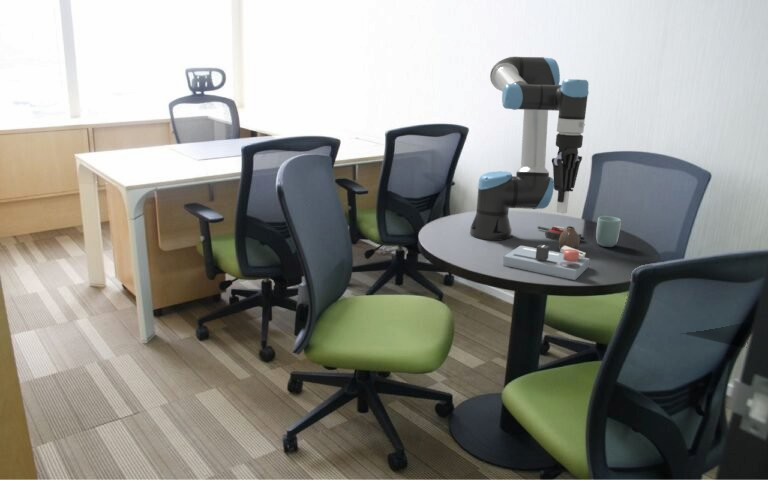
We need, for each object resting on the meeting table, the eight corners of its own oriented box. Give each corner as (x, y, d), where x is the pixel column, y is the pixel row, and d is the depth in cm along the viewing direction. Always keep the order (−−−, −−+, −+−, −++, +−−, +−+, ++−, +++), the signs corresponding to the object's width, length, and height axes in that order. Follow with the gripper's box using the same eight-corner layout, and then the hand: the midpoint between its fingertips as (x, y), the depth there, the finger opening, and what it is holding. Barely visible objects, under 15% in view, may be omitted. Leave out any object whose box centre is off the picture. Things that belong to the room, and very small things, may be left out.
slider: (535, 259, 199) (536, 246, 198) (538, 256, 201) (540, 244, 200) (544, 260, 197) (546, 248, 196) (547, 258, 200) (549, 245, 199)
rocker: (559, 251, 202) (561, 248, 201) (563, 248, 205) (564, 245, 205) (581, 259, 199) (582, 255, 198) (584, 256, 202) (586, 252, 201)
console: (502, 265, 203) (504, 252, 202) (519, 253, 215) (520, 241, 214) (574, 280, 191) (576, 266, 190) (588, 267, 204) (589, 254, 202)
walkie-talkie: (587, 241, 234) (538, 230, 247) (588, 229, 233) (539, 219, 246) (576, 245, 228) (527, 234, 241) (577, 233, 227) (528, 223, 240)
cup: (618, 249, 224) (622, 222, 221) (595, 247, 225) (599, 220, 222) (615, 243, 231) (619, 216, 228) (593, 241, 232) (596, 215, 230)
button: (561, 259, 194) (562, 251, 193) (565, 256, 198) (566, 248, 197) (575, 262, 192) (576, 254, 191) (579, 259, 195) (580, 251, 195)
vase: (554, 251, 219) (556, 227, 217) (563, 247, 224) (565, 223, 222) (572, 256, 215) (575, 231, 212) (581, 251, 220) (584, 227, 217)
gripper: (569, 135, 179) (560, 217, 185) (593, 133, 187) (584, 212, 194) (546, 133, 184) (538, 212, 190) (570, 131, 193) (562, 207, 199)
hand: (561, 212), depth 192 cm, fingers closed
